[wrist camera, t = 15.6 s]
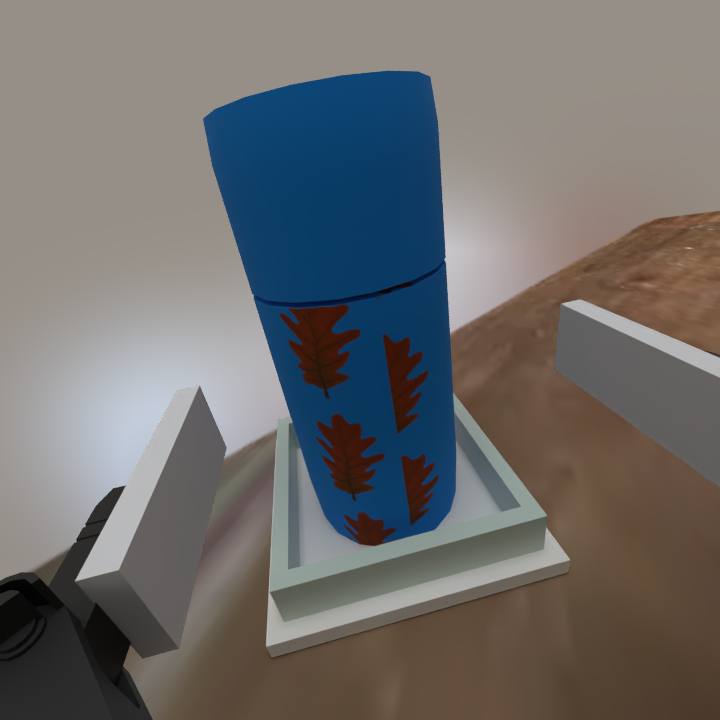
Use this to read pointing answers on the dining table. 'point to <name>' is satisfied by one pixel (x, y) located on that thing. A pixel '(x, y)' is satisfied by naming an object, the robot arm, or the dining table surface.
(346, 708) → the dining table surface
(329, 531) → the holder
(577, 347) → the robot arm
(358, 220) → the leaf-print tea canister
